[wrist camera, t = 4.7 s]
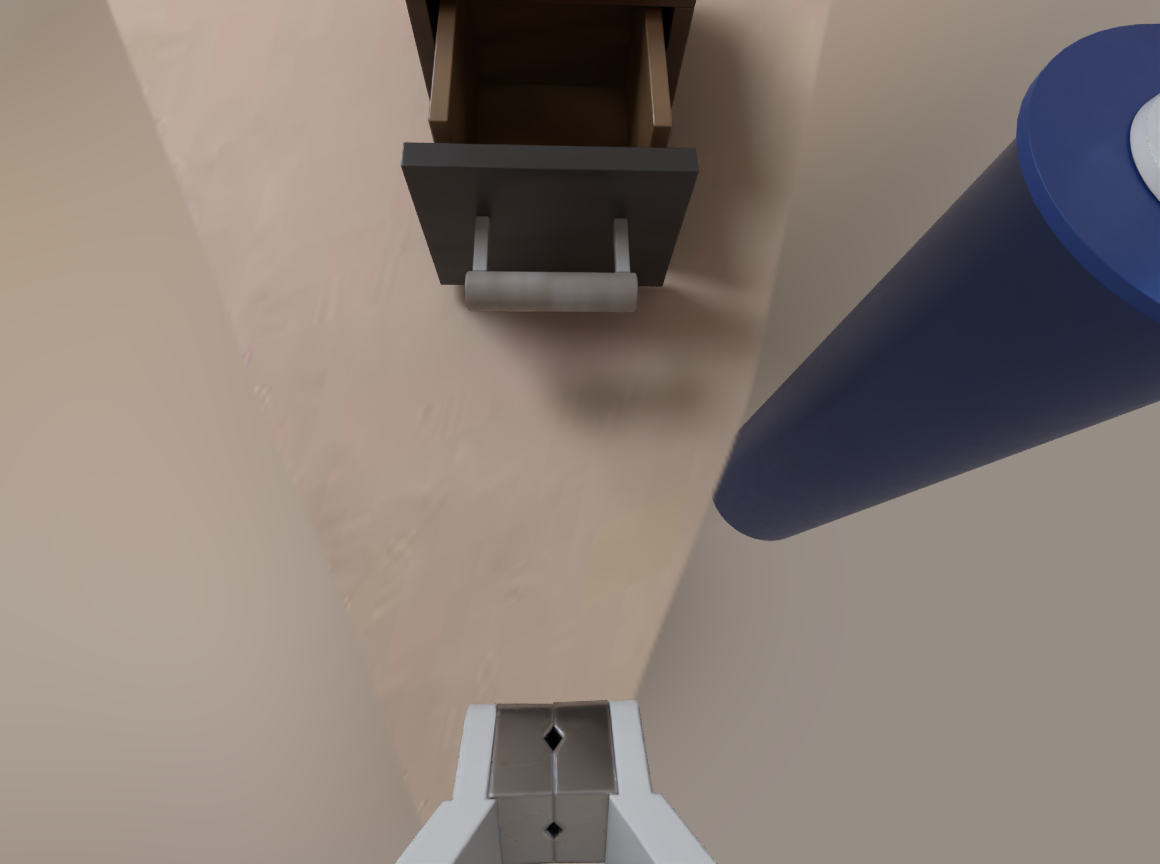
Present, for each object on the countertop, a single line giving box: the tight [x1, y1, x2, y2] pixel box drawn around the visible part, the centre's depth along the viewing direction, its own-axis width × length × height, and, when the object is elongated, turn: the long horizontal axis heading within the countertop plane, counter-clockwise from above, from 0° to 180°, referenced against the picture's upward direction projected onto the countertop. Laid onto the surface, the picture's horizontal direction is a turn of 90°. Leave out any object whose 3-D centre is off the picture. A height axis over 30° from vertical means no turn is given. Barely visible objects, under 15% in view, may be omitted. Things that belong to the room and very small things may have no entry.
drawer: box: [401, 0, 699, 312], centre depth 27 cm, size 18×12×8 cm, turn 1°
